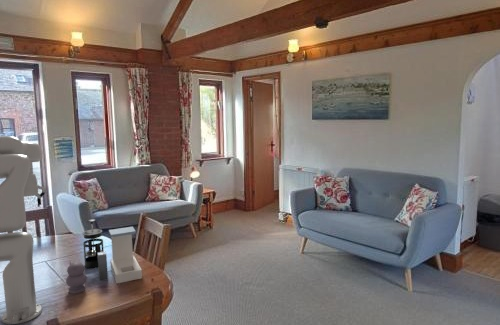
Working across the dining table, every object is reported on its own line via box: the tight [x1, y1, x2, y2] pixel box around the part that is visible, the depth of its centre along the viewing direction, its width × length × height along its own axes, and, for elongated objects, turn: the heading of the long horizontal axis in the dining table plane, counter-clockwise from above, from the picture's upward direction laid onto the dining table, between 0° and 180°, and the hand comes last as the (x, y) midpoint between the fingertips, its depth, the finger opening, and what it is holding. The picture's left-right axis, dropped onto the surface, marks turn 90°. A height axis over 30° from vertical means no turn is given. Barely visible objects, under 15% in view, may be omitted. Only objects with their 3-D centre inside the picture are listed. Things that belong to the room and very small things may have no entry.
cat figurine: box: [65, 260, 88, 295], centre depth 154 cm, size 8×8×12 cm
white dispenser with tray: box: [108, 226, 143, 284], centre depth 170 cm, size 19×11×19 cm, turn 27°
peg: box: [97, 251, 109, 282], centre depth 164 cm, size 3×3×12 cm
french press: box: [82, 218, 105, 270], centre depth 178 cm, size 12×9×23 cm
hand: (27, 207), depth 171 cm, fingers open, 9 cm apart
